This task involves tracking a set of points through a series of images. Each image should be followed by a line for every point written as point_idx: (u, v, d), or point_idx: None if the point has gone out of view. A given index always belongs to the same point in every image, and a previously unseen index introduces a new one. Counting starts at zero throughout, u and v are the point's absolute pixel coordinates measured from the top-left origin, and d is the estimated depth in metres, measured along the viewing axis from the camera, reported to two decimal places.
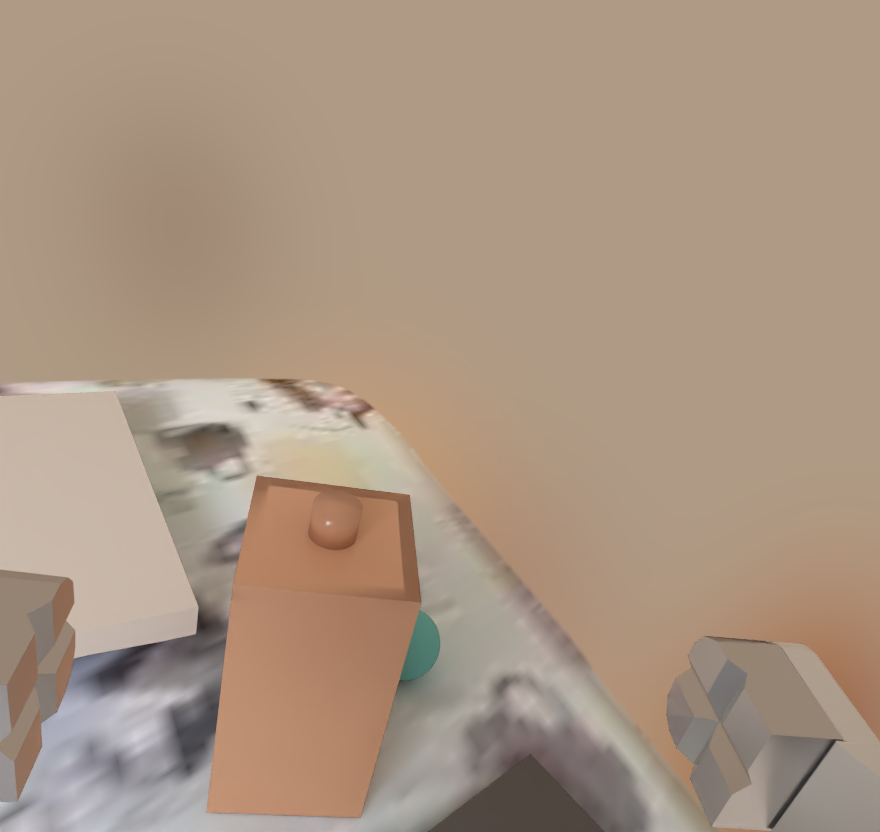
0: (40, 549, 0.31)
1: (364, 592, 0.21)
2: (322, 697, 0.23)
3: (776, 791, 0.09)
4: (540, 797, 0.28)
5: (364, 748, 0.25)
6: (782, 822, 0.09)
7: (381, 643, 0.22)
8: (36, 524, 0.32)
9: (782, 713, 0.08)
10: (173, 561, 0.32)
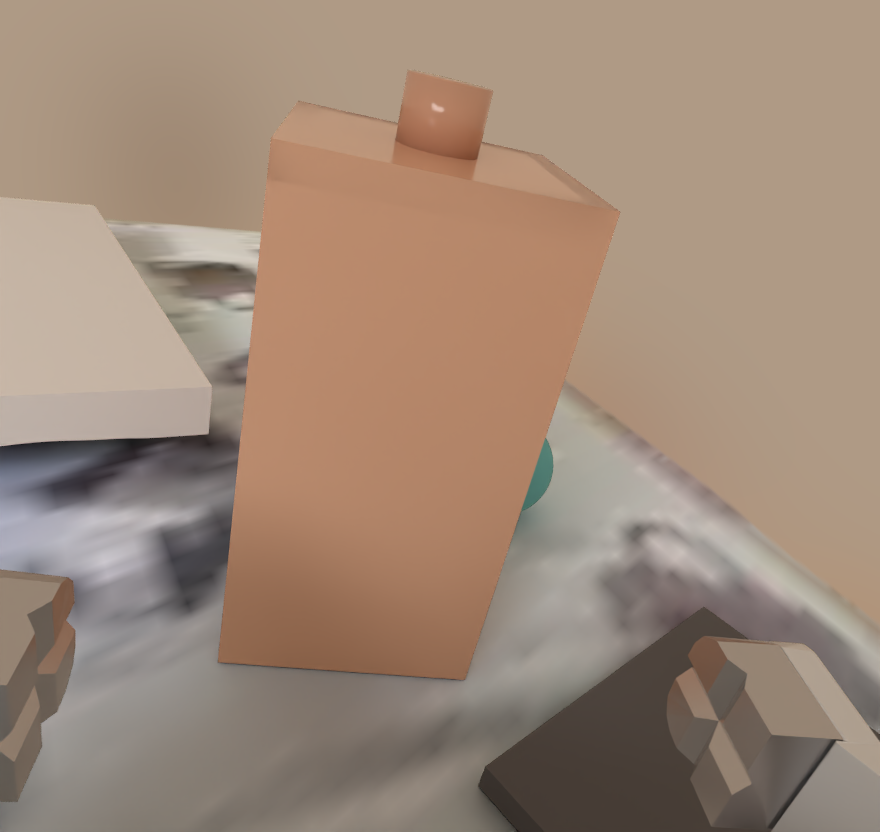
0: None
1: (515, 187, 0.11)
2: (422, 429, 0.13)
3: (776, 791, 0.09)
4: None
5: (484, 543, 0.15)
6: (782, 822, 0.09)
7: (537, 309, 0.12)
8: None
9: (782, 713, 0.08)
10: (173, 342, 0.22)
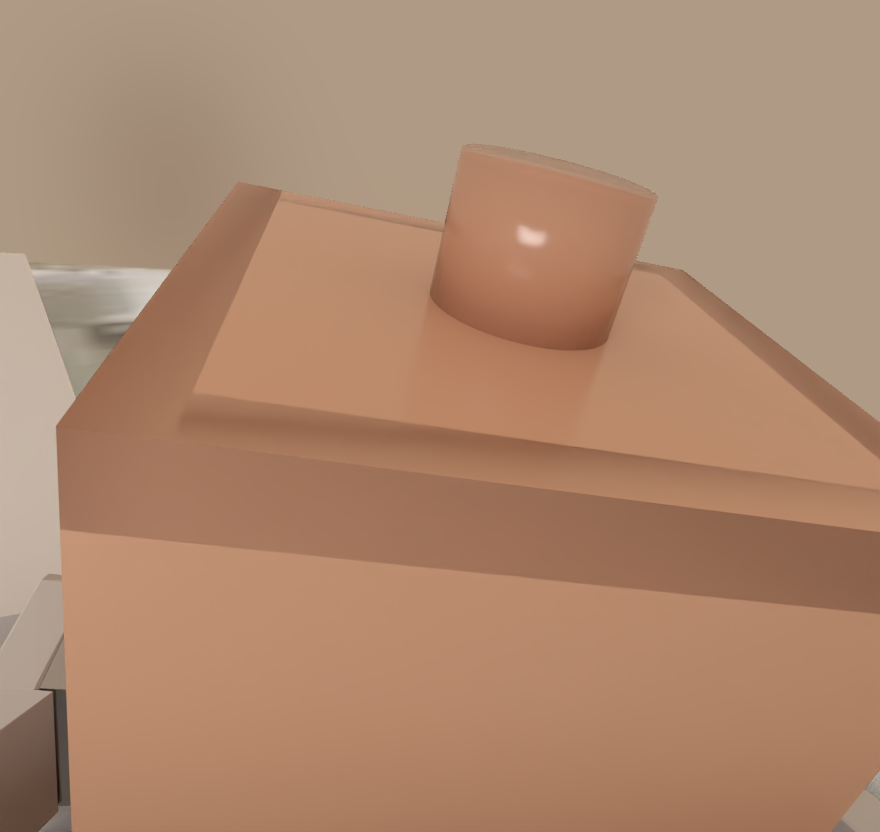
0: None
1: (777, 499, 0.04)
2: None
3: None
4: None
5: None
6: None
7: (786, 745, 0.05)
8: None
9: None
10: None
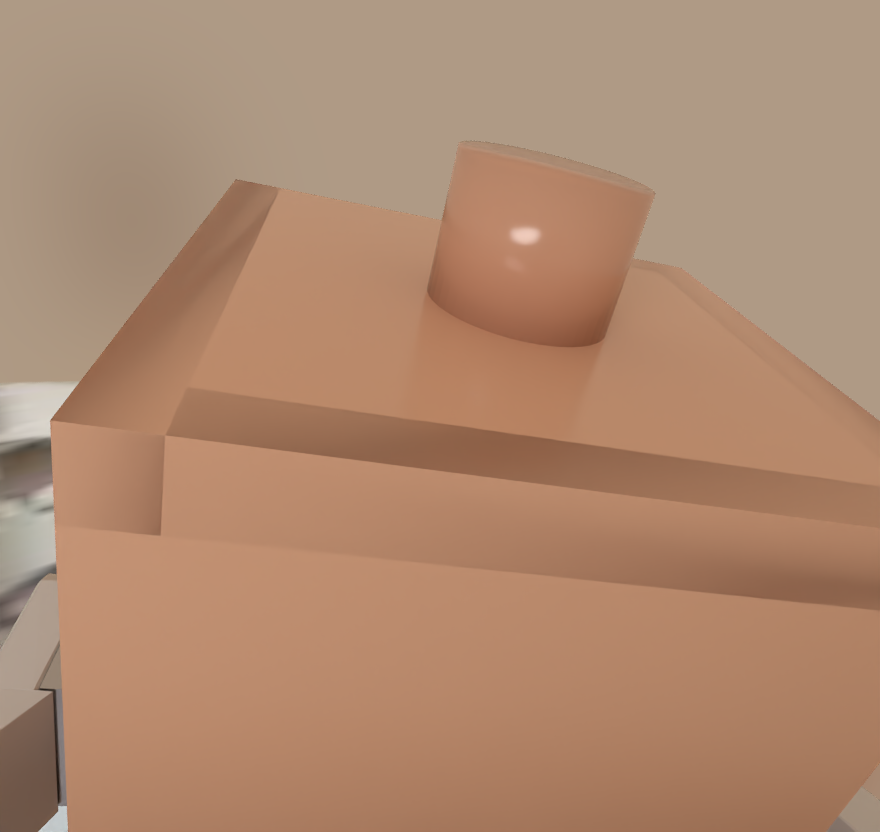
0: None
1: (773, 494, 0.04)
2: None
3: None
4: None
5: None
6: None
7: (783, 742, 0.05)
8: None
9: None
10: None
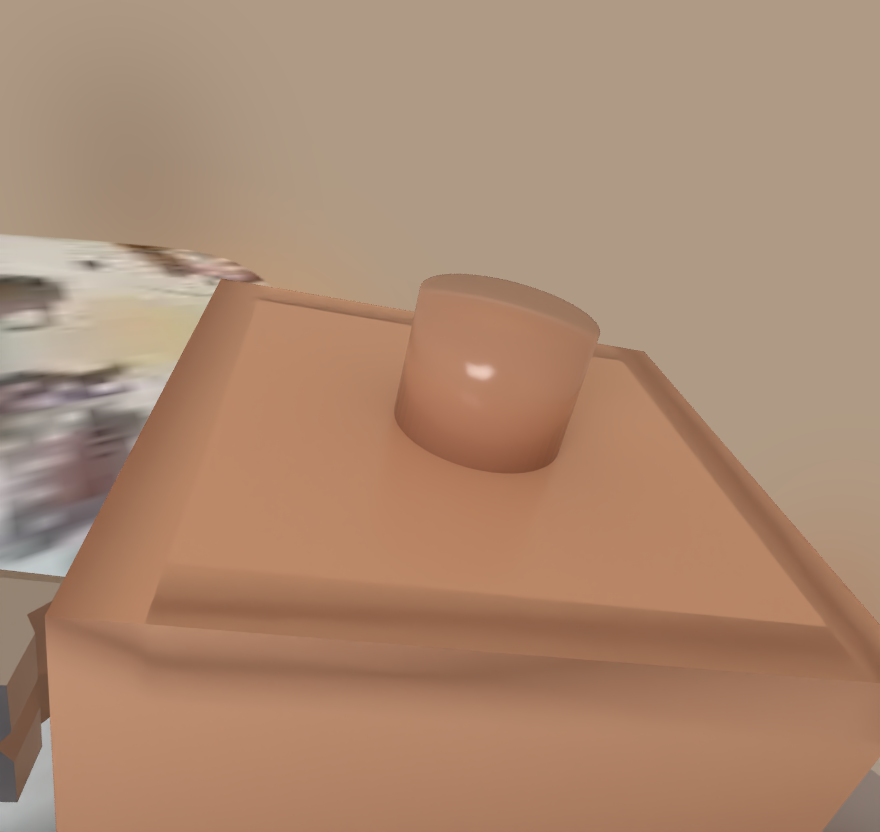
0: None
1: (689, 644, 0.05)
2: None
3: None
4: None
5: None
6: None
7: None
8: None
9: None
10: None
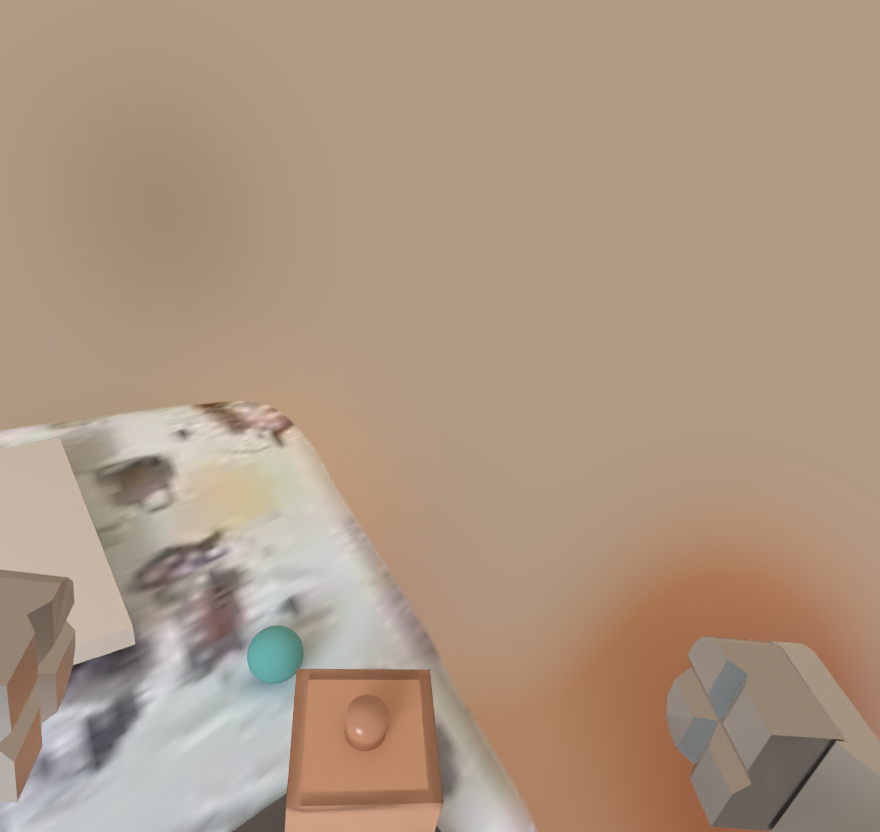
0: None
1: (395, 798, 0.26)
2: None
3: (775, 792, 0.09)
4: None
5: None
6: (782, 822, 0.09)
7: (412, 828, 0.27)
8: None
9: (782, 713, 0.08)
10: (112, 590, 0.42)
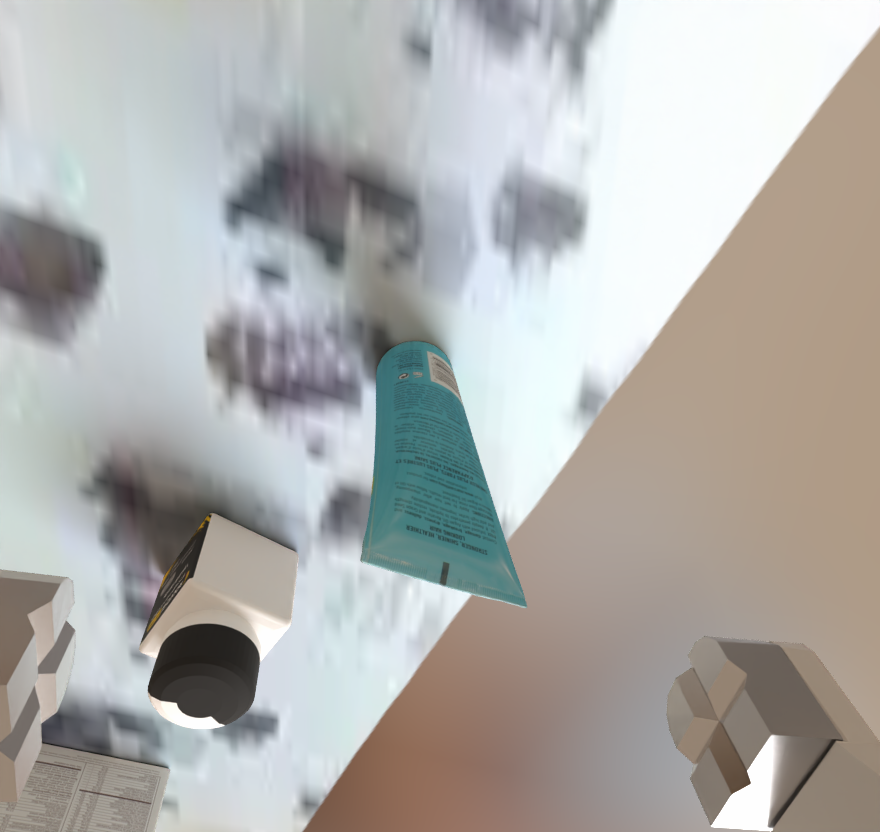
0: None
1: None
2: None
3: (776, 791, 0.09)
4: None
5: None
6: (782, 822, 0.09)
7: None
8: None
9: (782, 713, 0.08)
10: None
